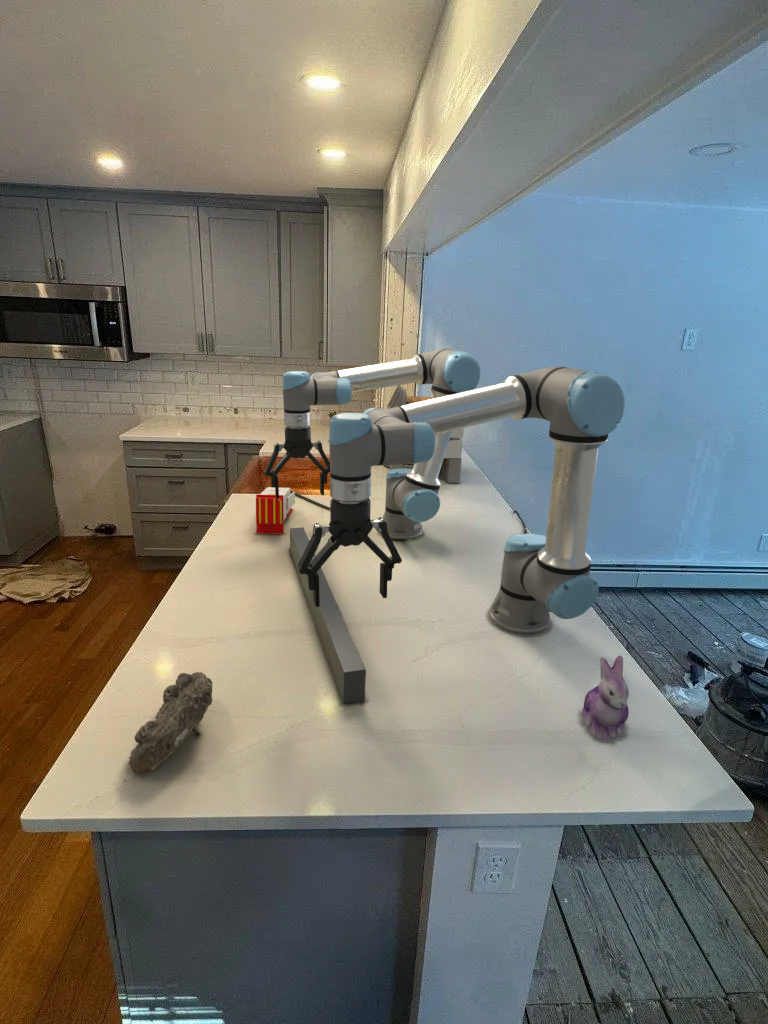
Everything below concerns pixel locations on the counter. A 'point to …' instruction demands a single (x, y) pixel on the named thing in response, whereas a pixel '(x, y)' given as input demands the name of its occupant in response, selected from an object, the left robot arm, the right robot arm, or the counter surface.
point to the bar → (332, 629)
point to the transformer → (454, 448)
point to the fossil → (172, 721)
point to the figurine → (607, 702)
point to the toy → (273, 510)
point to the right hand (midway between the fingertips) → (350, 599)
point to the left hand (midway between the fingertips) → (299, 495)
